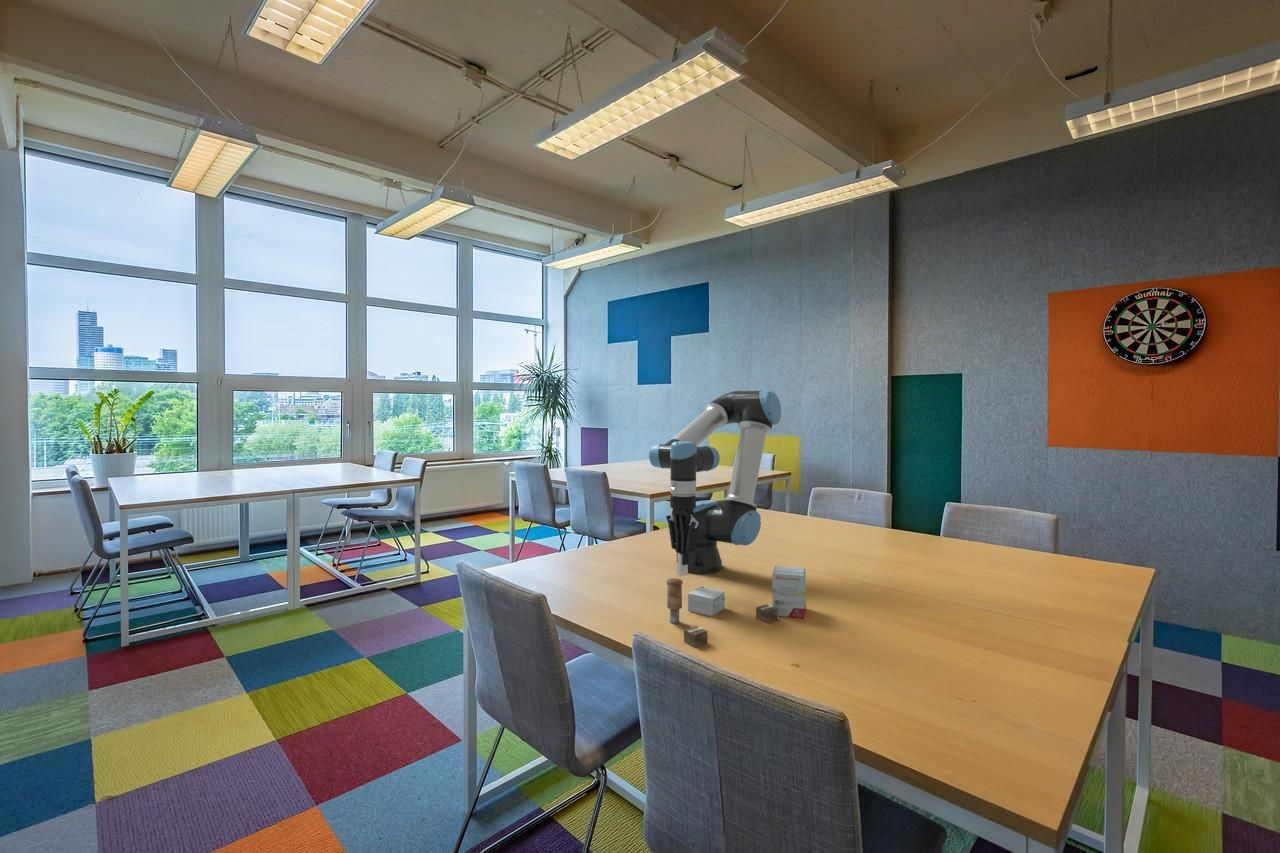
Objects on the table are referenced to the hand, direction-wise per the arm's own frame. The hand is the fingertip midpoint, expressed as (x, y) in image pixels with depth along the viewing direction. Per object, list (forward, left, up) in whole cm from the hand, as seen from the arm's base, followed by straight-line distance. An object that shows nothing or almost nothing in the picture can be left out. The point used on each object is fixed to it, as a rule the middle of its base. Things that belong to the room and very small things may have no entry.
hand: (682, 574), depth 169 cm
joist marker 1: (+17, +25, -7) cm, 31 cm away
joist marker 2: (-8, +25, -7) cm, 27 cm away
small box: (0, +10, -8) cm, 13 cm away
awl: (+13, +12, -7) cm, 19 cm away
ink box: (-17, +25, -8) cm, 31 cm away
